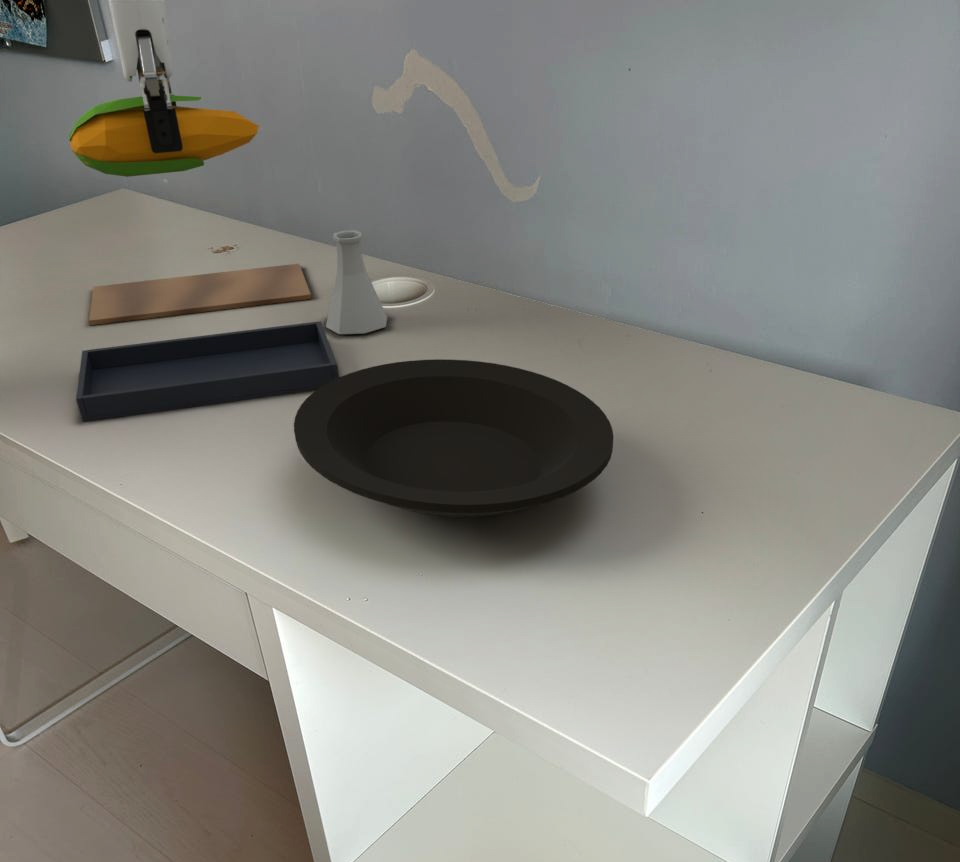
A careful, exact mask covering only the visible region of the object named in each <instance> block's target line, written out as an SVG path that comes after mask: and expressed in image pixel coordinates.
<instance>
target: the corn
mask: <svg viewBox="0 0 960 862" xmlns="http://www.w3.org/2000/svg"><path fill="white" fill-rule="evenodd" d="M164 97H165V95H164ZM170 98H171V102H174V101H176V102H195V101H196V102H197V101H201V100H202V96H190V95H189V96H188V95H175V94H170ZM165 101H166V100H165ZM172 108H175V110H176V115H177V120H178V125H179V131H180V136H181V141H182V146H183V149H182V150H181V151H176V152H164V153H154V152H153V151H152V149H151V144H150V140H149V135H148V130H147V126H146V121H145V117H144V112H143V110H145V107H144V102H143V97H142V95H141V96H134V97H133V96H132V97H128V98H127V97H126V98H120V99H115V100H111V101H106V102H102V103H99V104H98V105H95V106H93V107H92V108H90V109H89V110H87V111H86V112H85V113H84V114H82V116H81V117H80V118H79V119H78V120H77V121H76V122H75V123H74V125H73V127H72V130H71V132H70V134H69V136H68V140H69V141H68V142H69V145H70V147H71V150H72V153H73V155H74V156H75V157H76V158H77V159H79V161H80V162H81V163H82V164H83V165H85V167H88V168H90V169H92V170H95V171H98V172H100V173H102V174H105V175H112V176H118V177H124V178H125V177H127V178H130V177H138V176H149V175H159V174H160V175H161V174H168V173H169V174H170V173H179V172H186V171H189V170H193V169H196V168H197V169H198V168H200V167H203V166H204V165H205V162H204V161H207V160H209V159H212V158H215V157H219V156H222V155H224V154H226V153H228V152H232V151H233V150H236V149H238V148H240V147H242V146H244V145H247V144H249V143H251V141H252V140H253V139H254V138H255V136H256V135H257V134H258V131H259V127H260V126H259V125H258V124H257V123H255V122H253V121H251V119H248V118H247V117H246V116H245V117H244V116H242V115H241V114H240V113H238V112H237V111H234V110H222V109H213V108H199V107H189V106H179V105H176V106H172Z"/></svg>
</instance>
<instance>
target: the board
mask: <svg viewBox="0 0 960 862" xmlns="http://www.w3.org/2000/svg"><path fill="white" fill-rule="evenodd" d="M91 294H92V295H91V301H90V310H89V316H88V317H89V318H88V322H89V325H90V326H95V325H96V326H97V325H105V324H111V323H112V324H113V323H122V322H123V323H124V322H129V321H138V320H139V321H140V320H148V319H154V318H163V317H172V316H181V315H187V314H197V313H205V312H213V311H214V312H215V311H221V310H222V311H223V310H231V309H240V308H247V307H256V306H263V305H272V304H273V305H274V304H281V303H288V302H289V303H290V302H298V301H306V300H312V294H311V291H310V288H309V286H308V283H307V280H306V278H305V275H304V273H303V270H302V268H301V265H300V263H293V264H292V263H290V264H283V265H282V264H281V265H274V266H265V267H256V268H246V269H239V270H238V269H237V270H229V271H228V270H227V271H221V272H219V271H218V272H212V273H203V274H202V273H201V274H194V275H185V276H177V277H167V278H157V279H150V280H149V279H148V280H141V281H131V282H123V283H113V284H104V285H96V286H93V287H92V293H91Z"/></svg>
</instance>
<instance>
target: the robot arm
mask: <svg viewBox="0 0 960 862" xmlns="http://www.w3.org/2000/svg"><path fill="white" fill-rule="evenodd" d="M107 2H108V6H109V11H110V16H111V20H112V25H113V31H114V34H115V35H114V36H115V39H116V44H117V48H118V53H119V57H120V63H121V68H122V73H123V78H124V79H125V80H126V81H128V82H129V83H130V82H132V81H133V77H136V76H138V82H139V85H140V91H141V96H142V97H143V102H144V107H145V110H143V112H144V117H145V121H146V126H147V130H148V135H149V140H150V144H151V149H152V151H153V152H154V153H164V152H176V151H181V150H182V149H183V146H182V141H181V136H180V131H179V125H178V120H177V115H176V110H175V108H172V106H177V101H174V102H171V98H170V95H173V92H172V86H171V82H170V78H171V77H172V76H173V74H174V72H173V71H174V70H173V52H172V42H171V34H170V27H169V22H168V20H169V19H168V14H167V9H166V8H167V7H166V3H165V0H107ZM164 95H165V97H164ZM165 100H166V101H165Z"/></svg>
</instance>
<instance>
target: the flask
mask: <svg viewBox="0 0 960 862" xmlns="http://www.w3.org/2000/svg"><path fill="white" fill-rule="evenodd" d="M362 238H363V234H362V232H361V231H358V230H356V229H355V230H354V229H353V230H352V229H351V230H341V231H337V232H334V233H333V235H332V240H333V242H334V243H335V244H336V253H337V259H336V260H337V262H336V266H337V267H336V275H335V281H334V286H333V292H332V297H331V300H330V306H329V309H328V310H329V311H328V314H327V319H326V324H325V327H326V328H327V329H328V330H331V331H332V332H335V333H336V334H338V335H353V334H359V335H360V334H367V333H371V332H374V331H376V330H380V329H383V328H386V327H387V322H388V315H387V314H386V311H385V309H384V307H383V304H382V302H381V300H380V298H379V296H378V294H377V291H376V289H375V287H374V285H373V283H372V281H371V278H370V276H369V273H368V271H367V268H366V264H365V261H364V257H363V254H362V248H361V241H362Z"/></svg>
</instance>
